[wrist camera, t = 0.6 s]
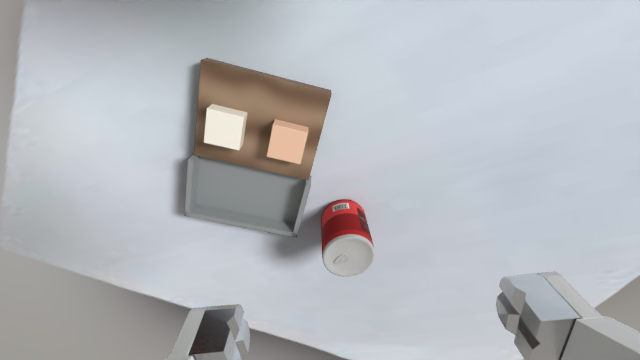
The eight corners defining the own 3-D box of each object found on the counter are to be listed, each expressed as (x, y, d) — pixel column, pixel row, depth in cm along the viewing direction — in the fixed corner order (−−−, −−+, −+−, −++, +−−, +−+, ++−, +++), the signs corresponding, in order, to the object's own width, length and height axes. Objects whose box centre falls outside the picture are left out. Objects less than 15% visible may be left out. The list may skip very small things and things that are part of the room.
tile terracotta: (275, 119, 45) (273, 124, 42) (308, 127, 45) (308, 132, 43) (269, 150, 47) (266, 156, 45) (301, 157, 47) (300, 164, 45)
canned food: (312, 220, 56) (312, 262, 46) (340, 189, 53) (345, 227, 43) (345, 240, 58) (351, 284, 48) (373, 212, 55) (385, 252, 45)
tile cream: (212, 103, 43) (206, 108, 41) (247, 112, 44) (244, 117, 42) (209, 136, 46) (203, 142, 43) (242, 144, 46) (239, 150, 44)
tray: (196, 150, 49) (187, 159, 46) (310, 176, 52) (310, 186, 49) (191, 204, 54) (184, 215, 51) (297, 225, 56) (296, 237, 53)
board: (206, 58, 43) (201, 59, 41) (330, 90, 45) (331, 93, 43) (199, 148, 49) (193, 154, 47) (308, 173, 51) (308, 179, 49)
